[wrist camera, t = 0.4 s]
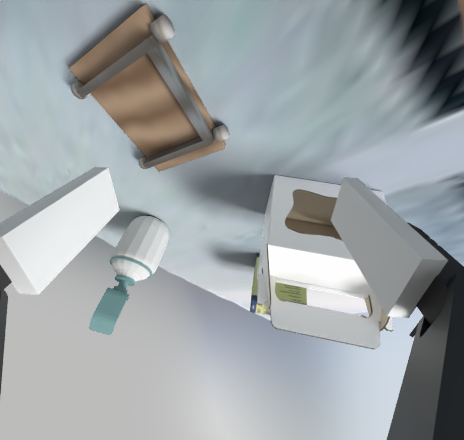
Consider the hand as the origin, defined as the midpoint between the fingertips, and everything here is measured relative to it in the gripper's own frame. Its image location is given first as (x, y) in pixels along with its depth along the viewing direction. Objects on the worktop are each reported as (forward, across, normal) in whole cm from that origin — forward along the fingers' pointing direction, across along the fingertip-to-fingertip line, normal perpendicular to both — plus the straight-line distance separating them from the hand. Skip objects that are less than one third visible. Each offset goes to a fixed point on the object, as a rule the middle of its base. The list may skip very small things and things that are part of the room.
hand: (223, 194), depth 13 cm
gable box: (+35, +18, -18) cm, 43 cm away
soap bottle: (+47, -26, -34) cm, 63 cm away
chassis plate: (+32, -15, +1) cm, 36 cm away
